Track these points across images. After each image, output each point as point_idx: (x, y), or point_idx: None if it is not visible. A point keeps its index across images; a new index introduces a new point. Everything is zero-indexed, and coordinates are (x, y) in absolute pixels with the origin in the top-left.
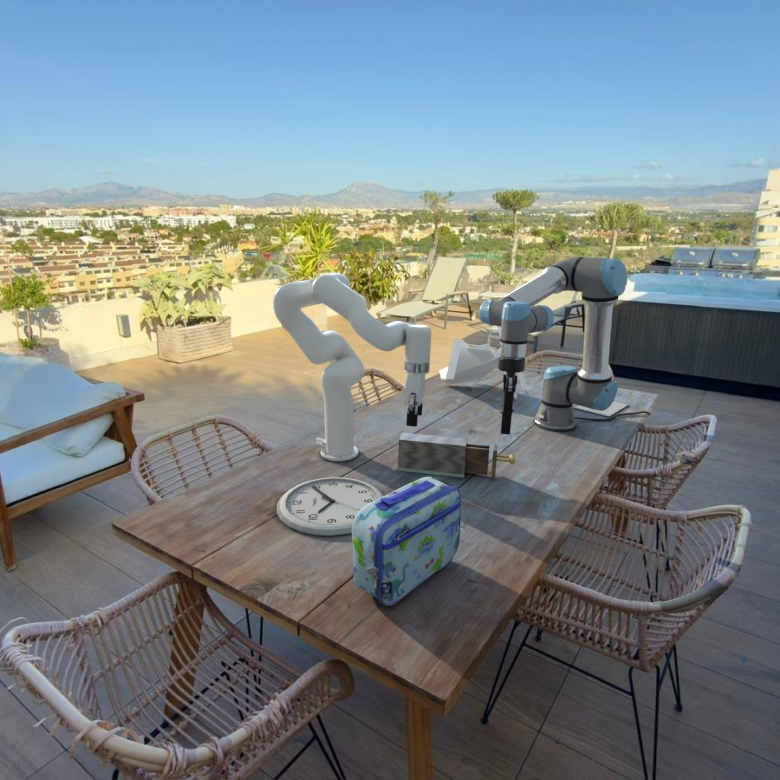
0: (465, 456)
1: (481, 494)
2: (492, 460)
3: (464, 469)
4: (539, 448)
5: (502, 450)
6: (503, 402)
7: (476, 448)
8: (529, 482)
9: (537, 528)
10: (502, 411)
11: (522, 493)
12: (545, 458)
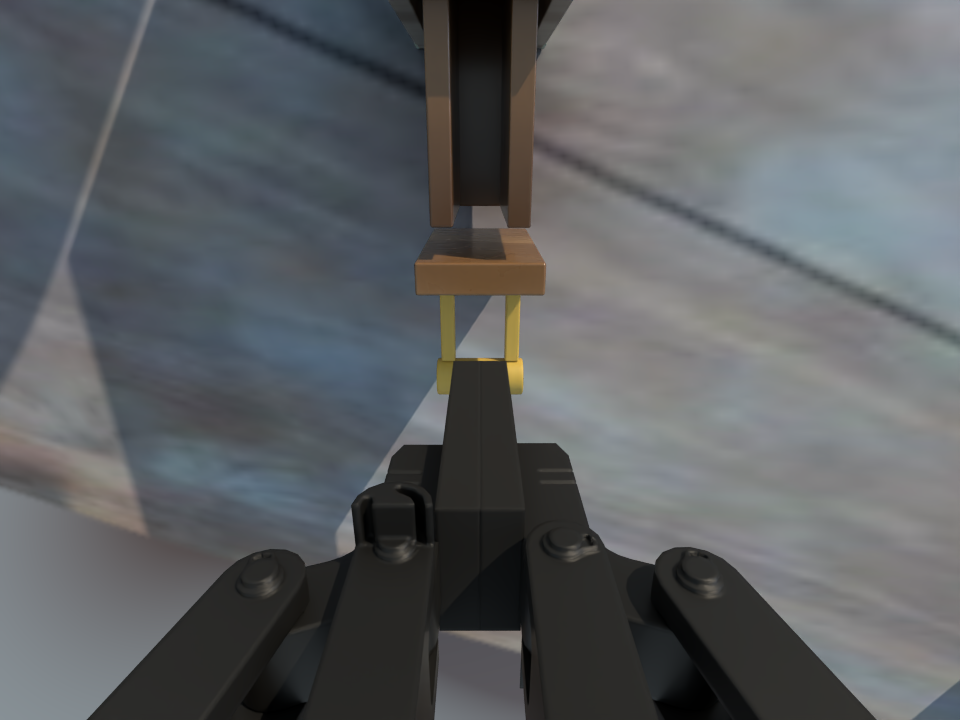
0: (403, 12)
1: (238, 176)
2: (448, 245)
3: (410, 36)
4: (883, 483)
5: (860, 290)
6: (702, 631)
7: (429, 106)
8: None
9: (38, 430)
10: (409, 536)
11: (328, 384)
12: (752, 501)
